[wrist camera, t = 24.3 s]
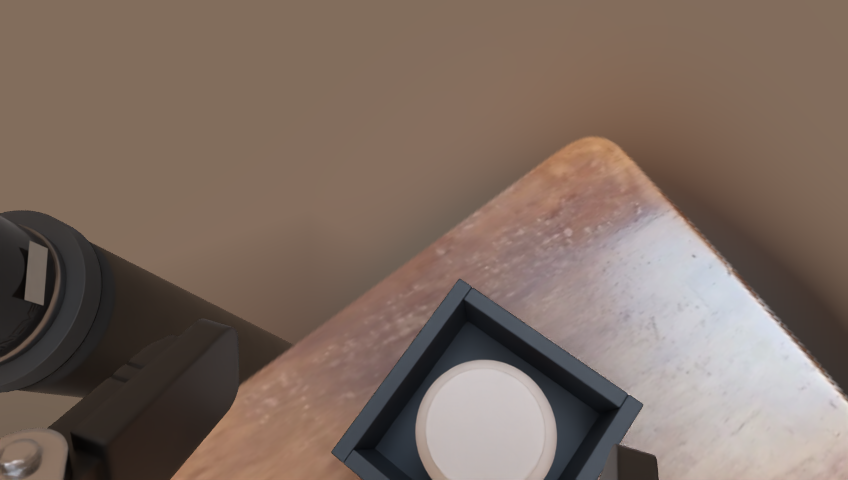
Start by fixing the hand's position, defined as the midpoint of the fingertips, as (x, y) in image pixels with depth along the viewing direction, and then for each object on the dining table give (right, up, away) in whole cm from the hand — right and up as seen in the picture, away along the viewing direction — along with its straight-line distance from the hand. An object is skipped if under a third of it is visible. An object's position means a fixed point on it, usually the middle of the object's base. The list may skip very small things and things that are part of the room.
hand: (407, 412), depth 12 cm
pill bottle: (+4, -7, +21) cm, 23 cm away
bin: (+4, -7, +22) cm, 23 cm away
